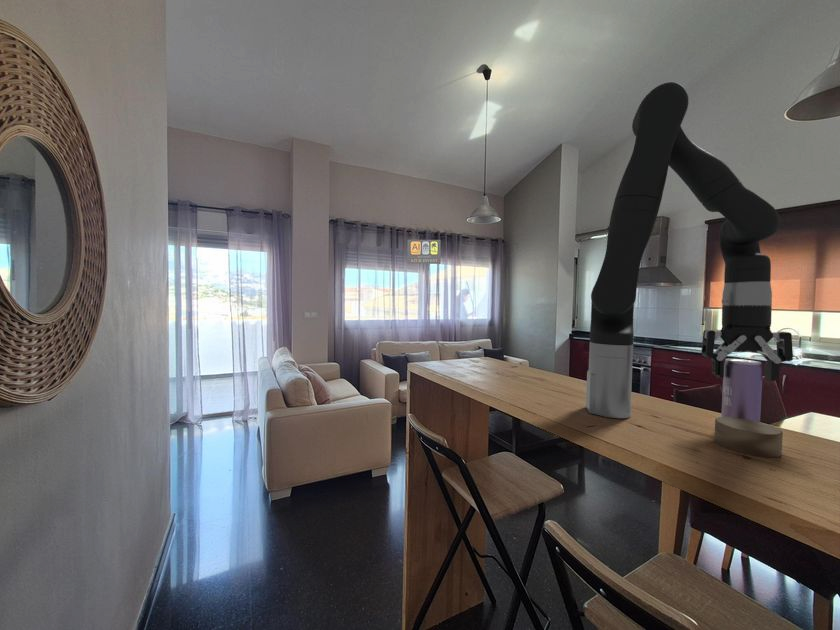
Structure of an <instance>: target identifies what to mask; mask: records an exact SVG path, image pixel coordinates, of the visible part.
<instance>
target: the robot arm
mask: <svg viewBox="0 0 840 630" xmlns="http://www.w3.org/2000/svg"><path fill="white" fill-rule="evenodd" d="M688 107H689V94H688V92H687V90H686V88H685V87H684V86H683V85H681V84H680V83H677V82H675V81H669V82H664V83H662V84H659V85H658V86H656V87H654V88H652V90H651V91H649V93H647V94H646V96H645V97H644V98H643V99H642V100H641V102H640V104H639V105H638V108H637V109H636V113H635V114H634V117H633V119H632V125H631V129H632V132H633V135H634V136H635V140H634V146H633V149H632V154H631V155H630V159H629V161H628V163H627V165H626V168H625V171H624V172H623V175H622V178H621V180H620V182H619V185H618V189H617V191H616V193H615V198H614V201H613V206H612V210H611V213H610V219H609V224H608V232H607V238H606V239H607V240H606V249H605V255H604V259H603V262H602V265H601V268H600V270H599V272H598V276H597V278H596V281H595V283H594V286H593V288H592V290H591V295H590V299H591V301H590V302H591V303H590V304H591V305H590V307H591V308H590V309H591V310H590V324H589V325H590V326H589V350H588V351H589V352H588V353H589V355H588V356H589V357H588V370H587V371H586V393H585V395H586V397H585V398H586V400H585V402H586V403H585V407H586V410H587V412H588V414H593V415H597V416H600V417H605V418H610V419H611V418H612V419H627V418H630V417H631V413H632V412H631V411H632V410H631V409H632V386H633V385H632V383H633V382H632V381H633V359H634V358H633V356H634V355H633V353H634V339H635V337H634V333H635V332H634V308H635V302H636V298H637V288H638V280H639V274H640V269H641V268H640V267H641V263H642V258H643V255H644V252H645V250H646V247H647V246H648V243H649V241H650V239H651V235H652V232H653V230H654V227H655V224H656V221H657V218H658V215H659V210H660V207H661V203H662V200H663V195H664V190H665V184H666V180H667V176H668V170H669V168H671V169H672V170H673V172H674V173H676V175H678V177H679V178H680V179H681V180H682V182H684V184H685V185H686V186H687V187H688V189H689V190H690V191H691V192H692V194H693V195H694V196H695V197H696V199H697V200H698V202H700V204H701V205H702V206H703V207H704V208H705V209H706V210H707V211H708V212H710V213H711V212H712V213H720V214H721V215H722V217H724V218H725V219H726V220H725V221H724V222H723V223H722V225H721V226H720V228H719V229H720V230H719V233H718V243H719V246H720V251H721V256H722V259H723V262H724V275H723V277H724V279H723V280H724V282H723V283H724V284H723V289H722V294H721V295H722V297H721V306H722V308H721V326H722V327H721V329H720V330H718V331H717V330H712V329H711V330H710V329H704V330H703V334H702V342H701V352H700V353H701V354H700V355H702V356H703V357H705V358H709V359H711V373H712V375H714V376H715V378H718V379H723V378H724V363H725V361H723V360H724V359H726V358H727V356H729V355H730V354H732V353H733V352H734V351H737V352H745V351H749V352H752V353H753V352H755V353H758V354H760V355H761V356H762V357H763V358H764V360H766V361H767V362H764V380H766V381H768V382H776V380H778V378H779V377H780V374H779V373H780V364H781V363H783V362H784V363H785V362H791V361H793V360H794V357H793V356H794V354H793V337H792V333H791V332H787V331H776V332H775V331H773V332H772V329H771V327H772V312H773V311H772V310H773V309H772V308H773V307H772V304H773V303H772V302H773V290H772V285H771V283H772V282H771V281H772V280H771V276H772V273H771V272H772V266H771V263H772V262H771V258H770V257H769V256H768V255H767V254H762V253H761V248H760V241H763V240H766V239H769V238H770V237H772V236H773V235H774V234H776V233H777V231H778V230H779V228H780V226H781V218H780V215H779V213H778V212H777V210H776V208H775V207H774V206H773V205H772V204H770V203H769V202H768V201H766V200H765V199H764V198H763V197H761V196H759V195H758V194H756V192H754V191H752V190H751V189H749V188H747V187H746V186H745V185H743V183H742V182H741V181H740V179H739V177H737V176H736V174H735V173H734V172H733V171H732V169H731V168H730V167H729V166H728V165H727V164H726V163H725V162H723V160H722V159H720V158H719V157H717V156H716V155H714V154H712V153H710V152H709V151H707V150H705V149H703V148H701V147H700V146H698V145H697V144H696V143H694V142H693V141H692V140H691V139H690V138H689V137H688V135H687V134H686V133H685V130H684V129H683V127H682V126H681V125H682V123H683V121H684V119H685V116H686V113H687V112H688ZM719 337H720V338H721V340H722V341H723V342H722V343H721V344H719V346H717V349H716V350H715V341H717V340H718V339H719ZM772 339H773V341H774V342H775V343H776V353H775V350H774V349H773V348H772V347H771V346H770V345H769V344H768V343H770V341H771V340H772ZM714 350H715V351H714Z"/></svg>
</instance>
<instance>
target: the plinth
mask: <svg viewBox="0 0 840 630" xmlns="http://www.w3.org/2000/svg"><path fill="white" fill-rule="evenodd" d="M714 421H715V422H714V437H713V439H714V442H715V443H717V444H718V445H720V446H722V447H724V448H727V449H729V450H732V451H735V452H739V453H742V454H747V455H750V456H755V455H757V456H756V457H761V456H762V457H761V458H772V457H773V458H781V457H782V453H783V452H782V451H783V437H784V436H783V434H784V433H783V431H782V430H781V429H780V428H779V427H776V426H774V425H771V424H767V423H764V422H761V421H760V422H757V421H753V420H748V419H742V418H735V417H721V416H719V417H717V418H715V420H714Z"/></svg>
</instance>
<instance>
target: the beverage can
mask: <svg viewBox="0 0 840 630" xmlns="http://www.w3.org/2000/svg"><path fill="white" fill-rule="evenodd" d="M724 359H725V361H724V378H722V394H721V395H722V399H721V400H722V401H721V416H720V417H735V418H742V419H748V420H753V421H757V422H761V411H762V410H761V408H762V407H761V406H762V389H763V372H764V371H763V370H764V368H763V366H762V364H763V363H762V362H761V361H756V360H750V359H742V358H724Z"/></svg>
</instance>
